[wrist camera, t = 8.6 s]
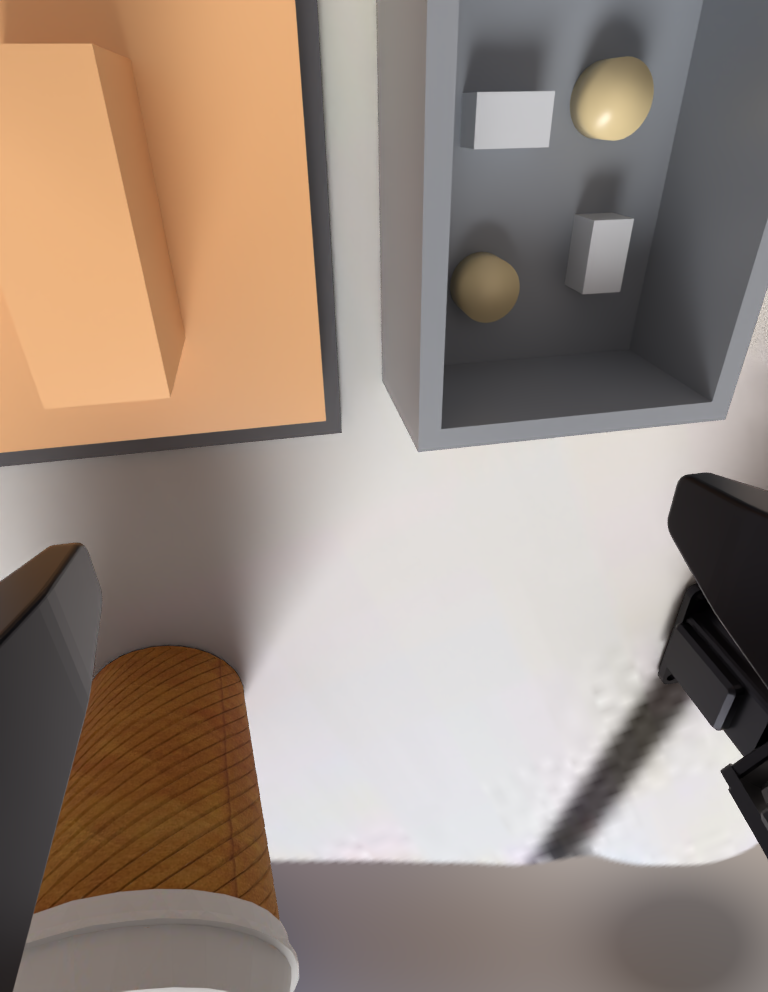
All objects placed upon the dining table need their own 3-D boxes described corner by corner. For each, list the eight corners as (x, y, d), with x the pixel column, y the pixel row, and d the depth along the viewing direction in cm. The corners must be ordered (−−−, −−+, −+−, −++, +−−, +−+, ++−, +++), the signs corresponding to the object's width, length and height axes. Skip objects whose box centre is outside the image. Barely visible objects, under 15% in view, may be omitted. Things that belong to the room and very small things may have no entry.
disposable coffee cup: (113, 790, 28) (44, 1155, 19) (-6, 659, 23) (-193, 1074, 13) (308, 728, 29) (342, 1054, 19) (235, 584, 23) (228, 936, 14)
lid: (282, -96, 13) (303, -204, 9) (320, 399, 19) (344, 491, 15) (-220, -112, 12) (-522, -254, 7) (-3, 429, 18) (-88, 540, 13)
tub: (722, -57, 15) (896, -116, 11) (632, 358, 21) (725, 419, 17) (375, -66, 14) (430, -137, 10) (382, 381, 20) (418, 451, 16)
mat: (305, -161, 13) (307, -170, 13) (339, 426, 21) (341, 432, 20) (-283, -192, 11) (-303, -203, 11) (-11, 460, 19) (-16, 468, 19)
